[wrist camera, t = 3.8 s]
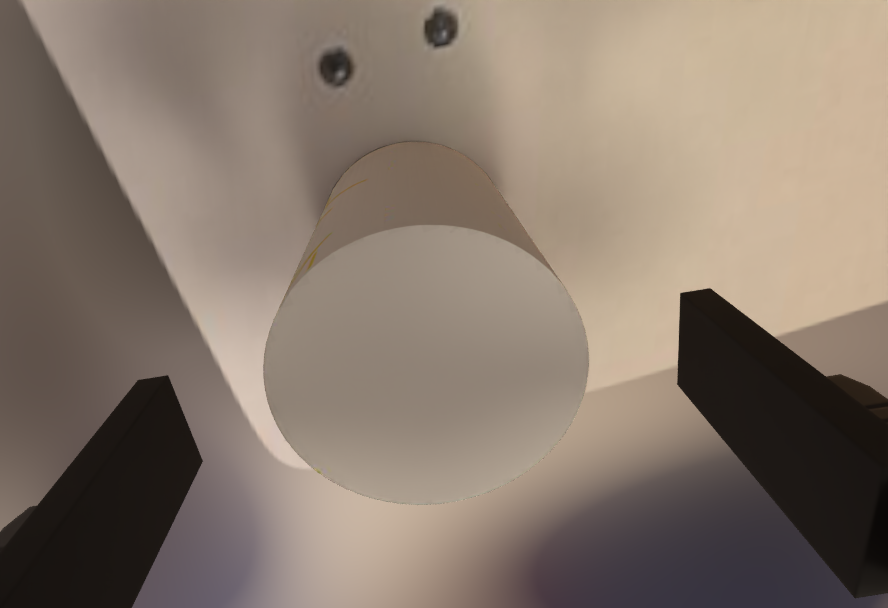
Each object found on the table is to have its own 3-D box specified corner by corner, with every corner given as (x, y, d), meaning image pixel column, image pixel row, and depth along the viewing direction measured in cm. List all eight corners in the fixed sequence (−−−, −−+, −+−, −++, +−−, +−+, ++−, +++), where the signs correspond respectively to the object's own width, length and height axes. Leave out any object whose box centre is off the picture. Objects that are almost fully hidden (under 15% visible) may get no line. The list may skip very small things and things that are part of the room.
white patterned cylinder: (313, 143, 23) (238, 230, 12) (510, 139, 24) (605, 219, 13) (331, 321, 27) (285, 513, 16) (503, 314, 27) (573, 495, 16)
